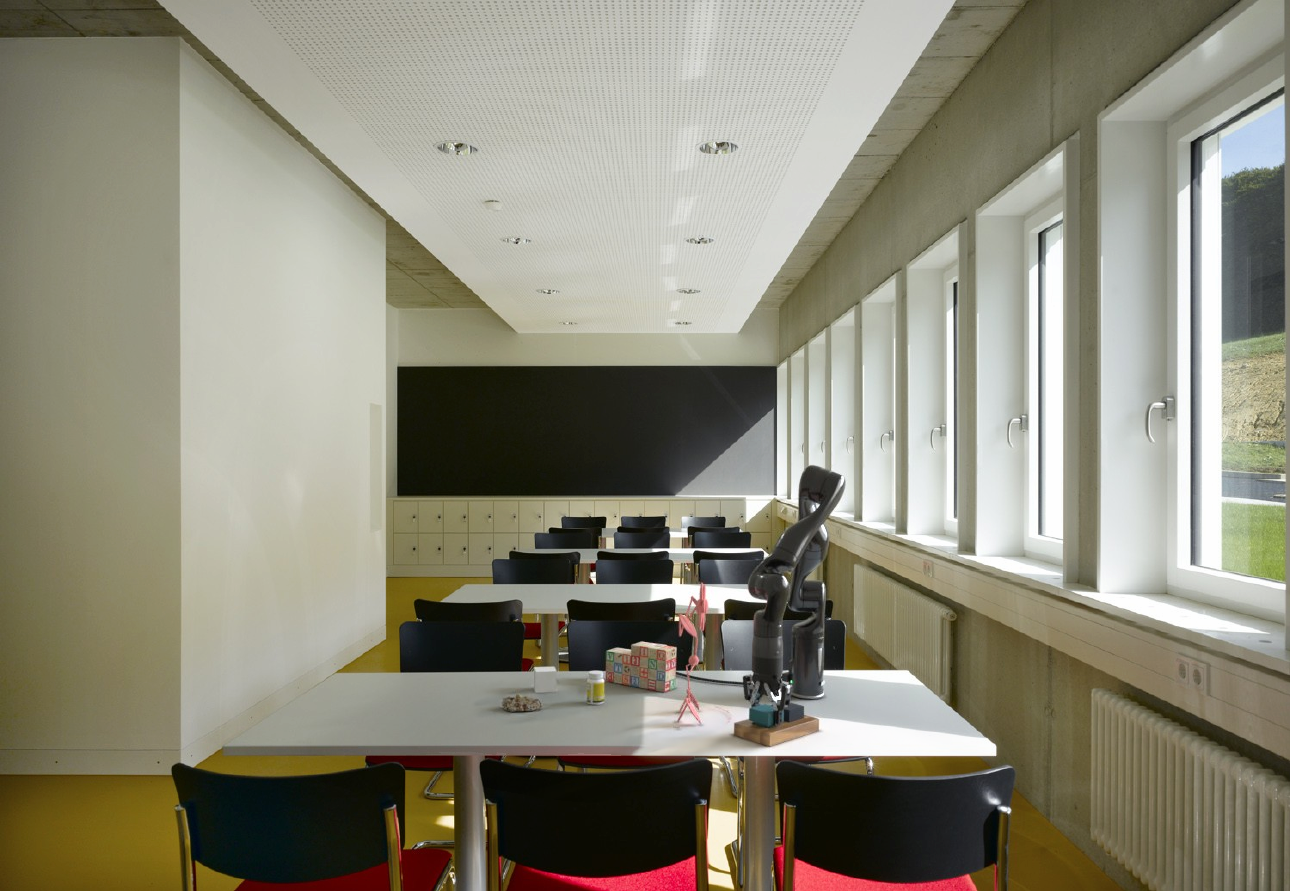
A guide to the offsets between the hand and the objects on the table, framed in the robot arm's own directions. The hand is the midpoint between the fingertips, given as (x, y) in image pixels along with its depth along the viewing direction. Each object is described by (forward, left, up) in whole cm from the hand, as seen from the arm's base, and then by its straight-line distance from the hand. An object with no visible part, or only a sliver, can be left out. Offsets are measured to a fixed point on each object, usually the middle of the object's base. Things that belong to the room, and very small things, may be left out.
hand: (766, 722), depth 211 cm
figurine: (-20, -1, -4) cm, 20 cm away
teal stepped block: (0, 0, -3) cm, 3 cm away
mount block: (0, +4, -3) cm, 5 cm away
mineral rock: (-57, -33, -4) cm, 66 cm away
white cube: (-69, -17, -4) cm, 71 cm away
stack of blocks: (-56, +9, -4) cm, 57 cm away
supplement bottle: (-49, -14, -4) cm, 51 cm away
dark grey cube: (0, +8, -3) cm, 9 cm away
